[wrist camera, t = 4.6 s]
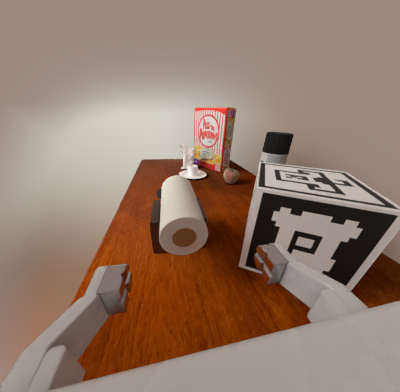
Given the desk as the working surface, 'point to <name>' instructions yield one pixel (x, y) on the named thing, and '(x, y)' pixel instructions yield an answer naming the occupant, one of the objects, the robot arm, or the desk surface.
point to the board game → (213, 137)
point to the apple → (231, 175)
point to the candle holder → (193, 173)
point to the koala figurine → (187, 156)
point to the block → (319, 220)
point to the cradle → (156, 225)
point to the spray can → (276, 147)
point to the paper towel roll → (180, 218)
